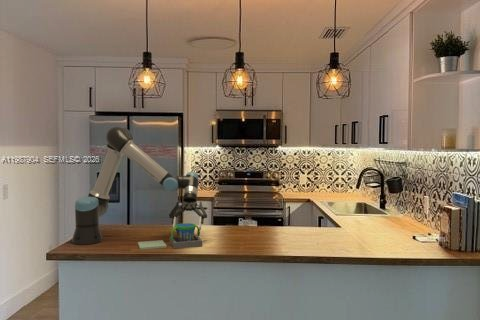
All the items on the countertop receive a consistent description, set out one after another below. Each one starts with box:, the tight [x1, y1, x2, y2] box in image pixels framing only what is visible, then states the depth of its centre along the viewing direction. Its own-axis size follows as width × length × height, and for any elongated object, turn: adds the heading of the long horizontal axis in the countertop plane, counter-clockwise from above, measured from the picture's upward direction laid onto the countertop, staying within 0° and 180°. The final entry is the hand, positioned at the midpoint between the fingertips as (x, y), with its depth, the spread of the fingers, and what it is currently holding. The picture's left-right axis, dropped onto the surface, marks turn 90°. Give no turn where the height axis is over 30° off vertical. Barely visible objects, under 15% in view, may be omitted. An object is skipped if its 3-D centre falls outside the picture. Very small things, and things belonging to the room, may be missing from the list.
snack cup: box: [170, 222, 201, 242], centre depth 214 cm, size 16×10×10 cm
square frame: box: [169, 234, 203, 250], centre depth 214 cm, size 14×14×3 cm
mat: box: [137, 239, 167, 251], centre depth 211 cm, size 13×13×1 cm
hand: (186, 228), depth 214 cm, fingers open, 13 cm apart
